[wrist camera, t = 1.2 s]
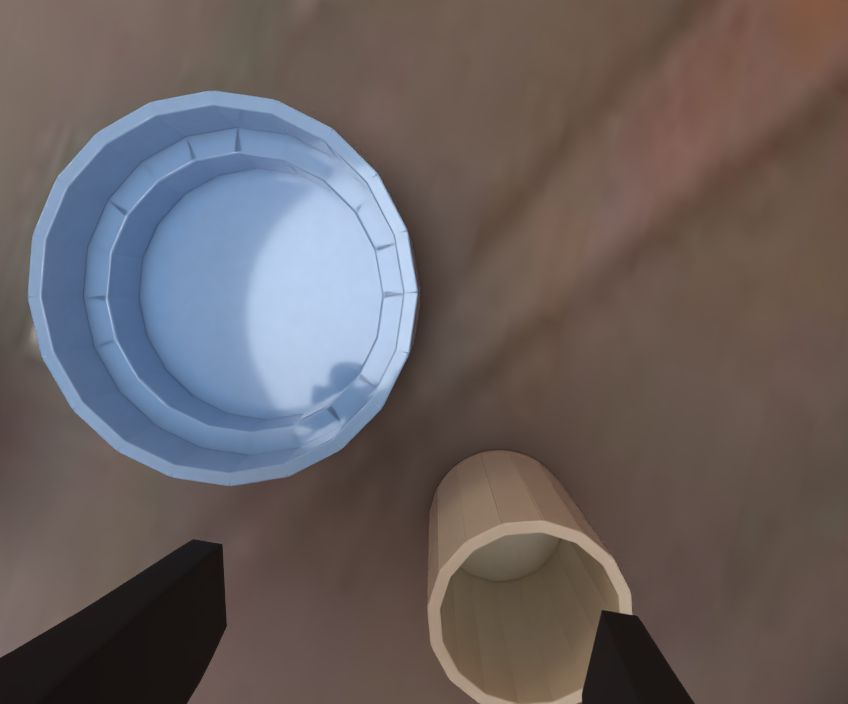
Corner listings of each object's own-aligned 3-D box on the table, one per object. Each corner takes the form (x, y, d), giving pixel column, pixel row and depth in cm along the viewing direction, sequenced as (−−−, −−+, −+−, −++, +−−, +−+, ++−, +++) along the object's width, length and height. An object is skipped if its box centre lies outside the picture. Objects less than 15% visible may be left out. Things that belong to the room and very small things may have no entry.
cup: (591, 545, 21) (667, 662, 14) (468, 605, 22) (485, 747, 15) (529, 426, 21) (577, 486, 14) (406, 487, 21) (392, 577, 14)
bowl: (473, 361, 21) (484, 377, 16) (210, 496, 22) (151, 547, 17) (327, 81, 20) (297, 17, 15) (59, 231, 21) (-45, 211, 16)
